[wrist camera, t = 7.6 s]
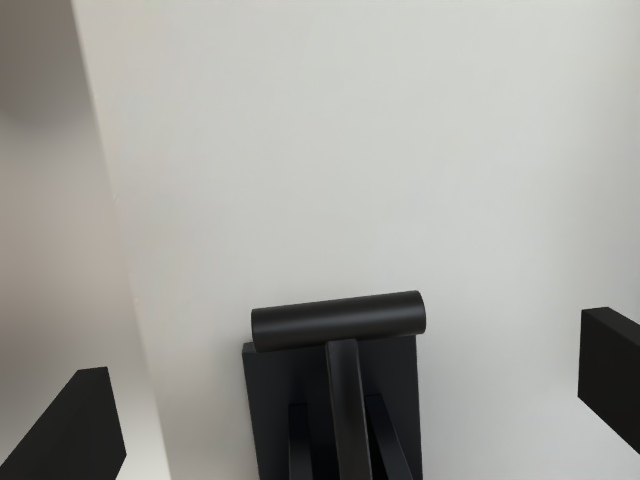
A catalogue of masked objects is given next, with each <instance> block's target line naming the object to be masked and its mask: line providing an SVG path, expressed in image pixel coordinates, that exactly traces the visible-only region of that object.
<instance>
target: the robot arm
mask: <svg viewBox="0 0 640 480" xmlns="http://www.w3.org/2000/svg"><path fill="white" fill-rule="evenodd" d="M578 397H579V398H580V399H581V400H582V401H583V402H584V403H585V404H586V405H587V406H588V407H589V408H590V409H591V410H593V411H594V412H595V413H596V414H597V415H598V416H599V417H600V418H601V419H602V420H603V421H604V422H605V423H606V424H607V425H609V426H610V427H611V428H612V429H613V430H614V431H615V432H616V433H617V434H618V435H619V436H620V437H621V438H622V439H624V440H625V441H626V442H627V443H628V444H629V445H630V446H631V447H632V448H633V449H634V450H635V451H636V452H637V453H638V454H640V325H639V324H637V323H635V322H634V321H632V320H630V319H628V318H627V317H625V316H623V315H621V314H620V313H618V312H616V311H614V310H613V309H611V308H609V307H601V308H592V309H584V310H582V312H581V334H580V356H579V379H578ZM126 455H127V454H126V450H125V445H124V440H123V436H122V432H121V427H120V423H119V418H118V413H117V409H116V405H115V400H114V395H113V391H112V387H111V382H110V377H109V373H108V368H107V367H98V368H90V369H82V370H77V372H76V373H75V374H74V375H73V377H72V378H71V379H70V380H69V382H68V383H67V384H66V385H65V387H64V388H63V389H62V390H61V392H60V393H59V394H58V395H57V397H56V398H55V399H54V400H53V402H52V403H51V404H50V405H49V407H48V408H47V409H46V410H45V412H44V413H43V414H42V415H41V417H40V418H39V419H38V420H37V421H36V423H35V424H34V425H33V427H32V428H31V429H30V430H29V432H28V433H27V434H26V435H25V436H24V438H23V439H22V440H21V441H20V443H19V444H18V445H17V447H16V448H15V449H14V450H13V451H12V453H11V454H10V455H9V456H8V458H7V459H6V460H5V462H4V463H3V464H2V465H1V466H0V480H115V479H116V477H117V475H118V473H119V471H120V468H121V466H122V464H123V462H124V460H125V458H126Z"/></svg>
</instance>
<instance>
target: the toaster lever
mask: <svg viewBox="0 0 640 480" xmlns="http://www.w3.org/2000/svg"><path fill="white" fill-rule="evenodd" d="M251 327H252V337H253V344H254V349H255V352H256V353H266V352H275V351H283V350H291V349H300V348H308V347H317V346H325V353H326V362H327V371H328V380H329V389H330V398H331V407H332V416H333V425H334V434H335V443H336V452H337V461H338V470H339V480H373V478H372V469H371V460H370V452H369V443H368V434H367V425H366V417H365V408H364V399H363V391H362V382H361V373H360V364H359V356H358V347H357V342H358V341H367V340H375V339H383V338H392V337H400V336H409V335H417V334H423V333H424V332H425V329H426V313H425V307H424V302H423V299H422V297H421V294H420V293H419V291H416V290H415V291H406V292H398V293H389V294H380V295H371V296H363V297H354V298H345V299H337V300H328V301H319V302H310V303H302V304H293V305H284V306H276V307H267V308H258V309H253V310H252V312H251Z"/></svg>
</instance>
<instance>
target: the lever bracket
mask: <svg viewBox="0 0 640 480" xmlns="http://www.w3.org/2000/svg"><path fill="white" fill-rule="evenodd" d="M357 347H358V356H359V364H360V373H361V382H362V391H363V399H364V408H365V417H366V425H367V434H368V443H369V452H370V460H371V469H372V478H373V480H423V473H422V453H421V432H420V412H419V392H418V372H417V351H416V335H409V336H400V337H392V338H383V339H375V340H367V341H358V342H357ZM242 358H243V365H244V372H245V379H246V386H247V393H248V400H249V407H250V414H251V421H252V428H253V435H254V442H255V449H256V456H257V463H258V470H259V477H260V480H339V470H338V461H337V452H336V443H335V434H334V425H333V416H332V407H331V398H330V389H329V380H328V371H327V362H326V353H325V346H317V347H308V348H300V349H291V350H283V351H275V352H266V353H256V352H255V349H254V344H253V342H250V343H244V344H243V350H242Z"/></svg>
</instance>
